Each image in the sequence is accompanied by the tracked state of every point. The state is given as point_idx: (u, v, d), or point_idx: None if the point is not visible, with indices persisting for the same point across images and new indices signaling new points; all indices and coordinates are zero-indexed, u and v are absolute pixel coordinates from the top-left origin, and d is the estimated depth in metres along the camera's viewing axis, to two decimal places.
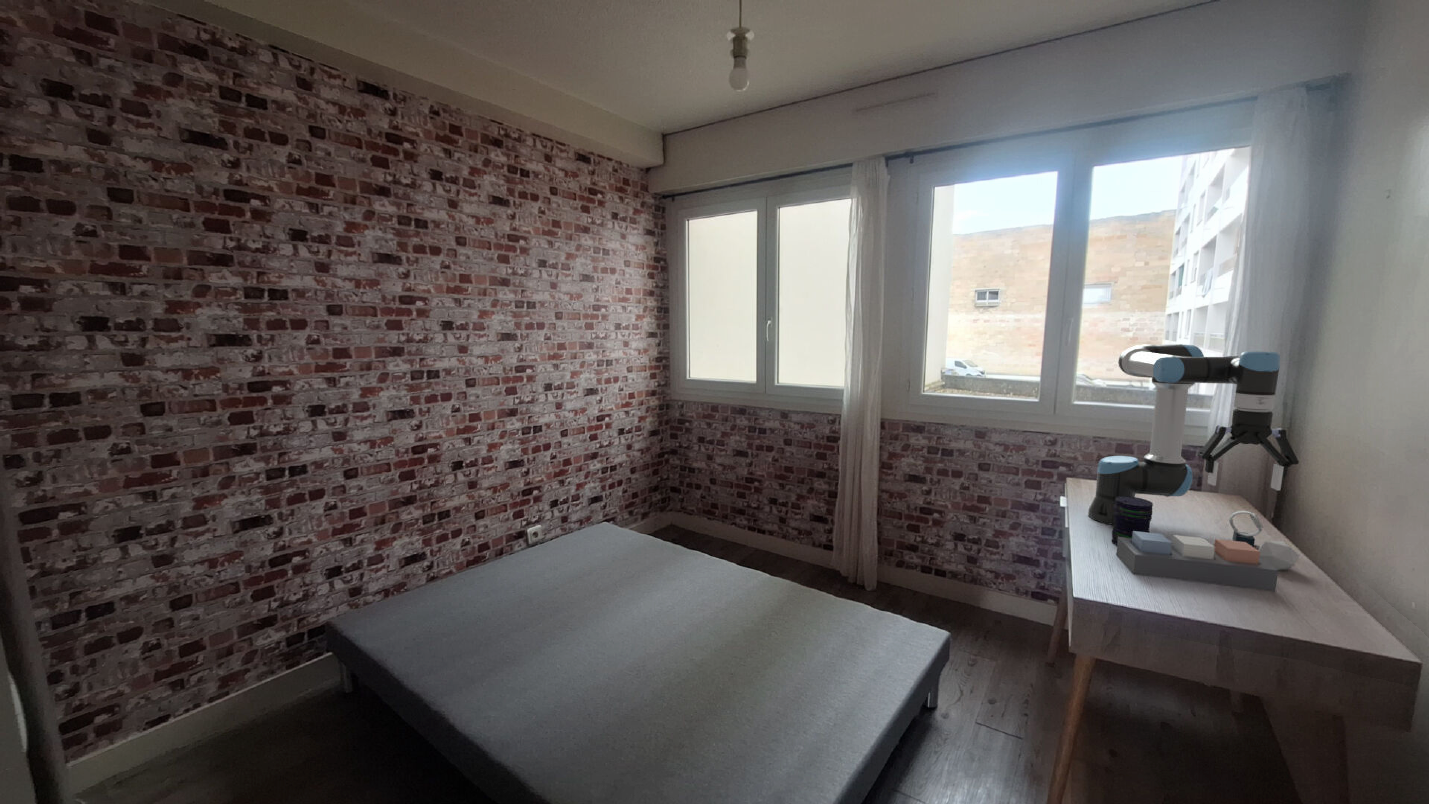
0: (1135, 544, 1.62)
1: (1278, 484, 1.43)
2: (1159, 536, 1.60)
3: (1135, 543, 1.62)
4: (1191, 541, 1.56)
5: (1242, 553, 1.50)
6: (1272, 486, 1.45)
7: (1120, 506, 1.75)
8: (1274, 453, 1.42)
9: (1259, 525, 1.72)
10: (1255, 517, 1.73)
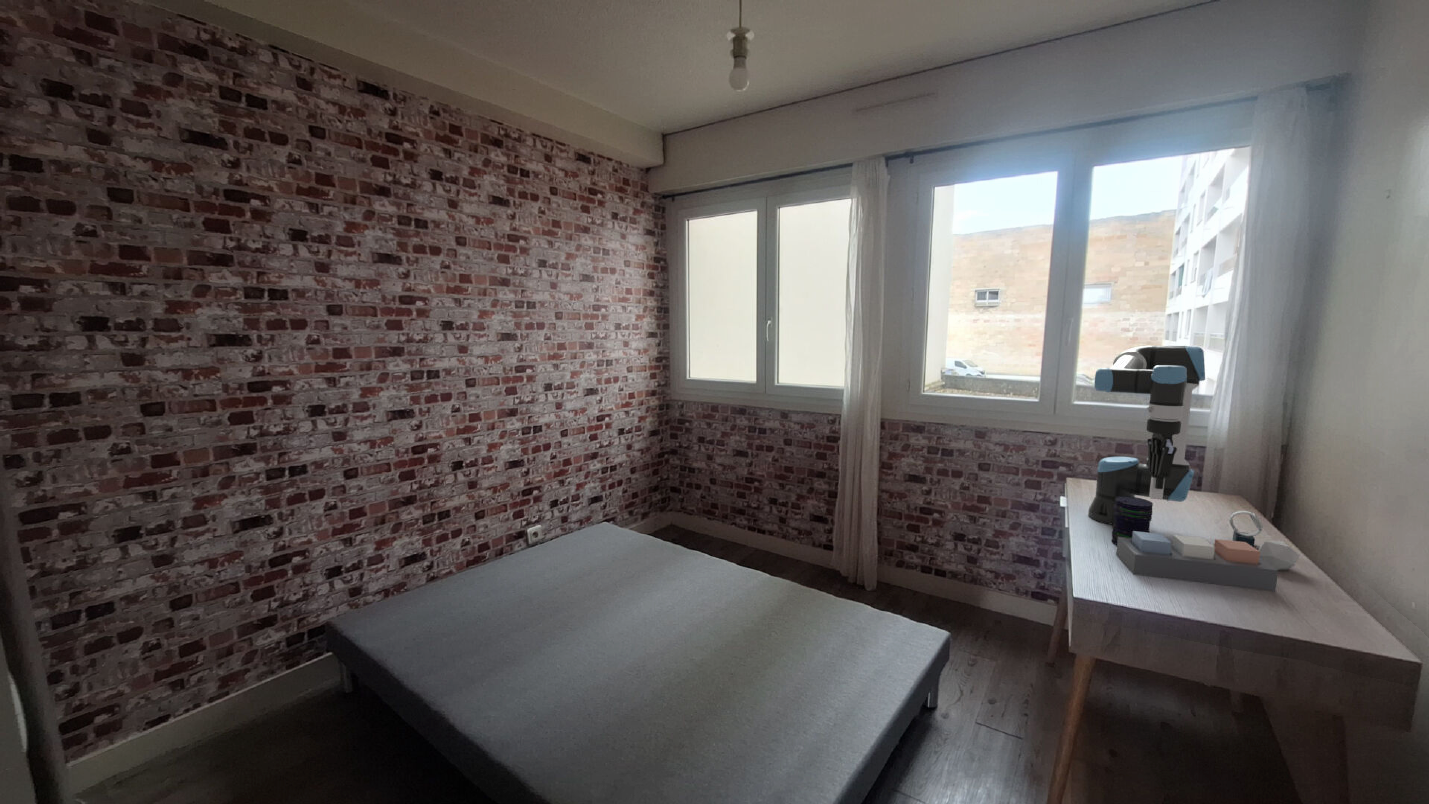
0: (1135, 544, 1.62)
1: (1150, 493, 1.58)
2: (1159, 536, 1.60)
3: (1135, 543, 1.62)
4: (1191, 541, 1.56)
5: (1242, 553, 1.50)
6: None
7: (1120, 506, 1.75)
8: (1156, 462, 1.56)
9: (1259, 525, 1.72)
10: (1255, 517, 1.73)
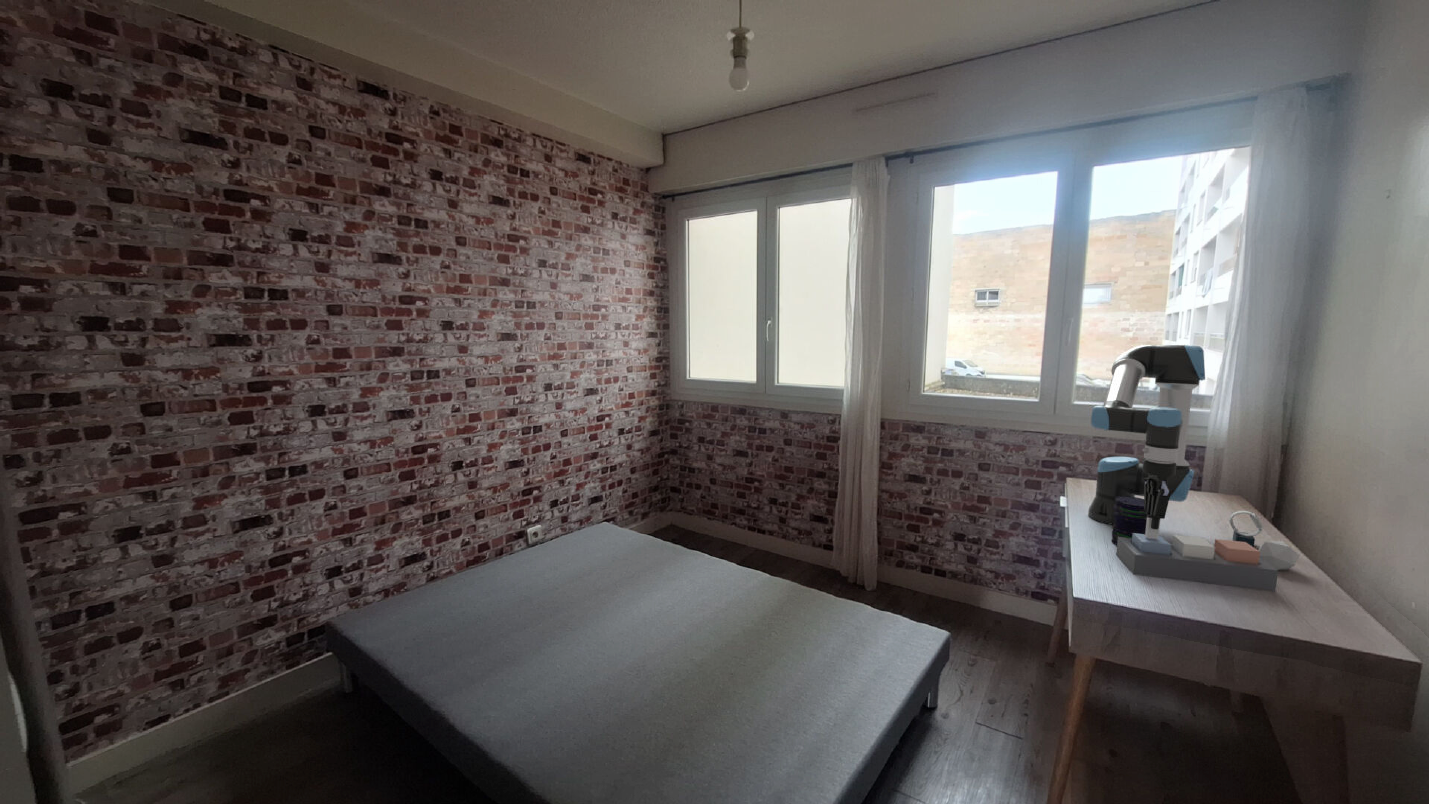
0: (1135, 546, 1.62)
1: (1146, 532, 1.60)
2: (1158, 538, 1.60)
3: (1135, 545, 1.62)
4: (1191, 541, 1.56)
5: (1242, 553, 1.50)
6: None
7: (1120, 506, 1.75)
8: (1151, 503, 1.58)
9: (1259, 525, 1.72)
10: (1255, 517, 1.73)
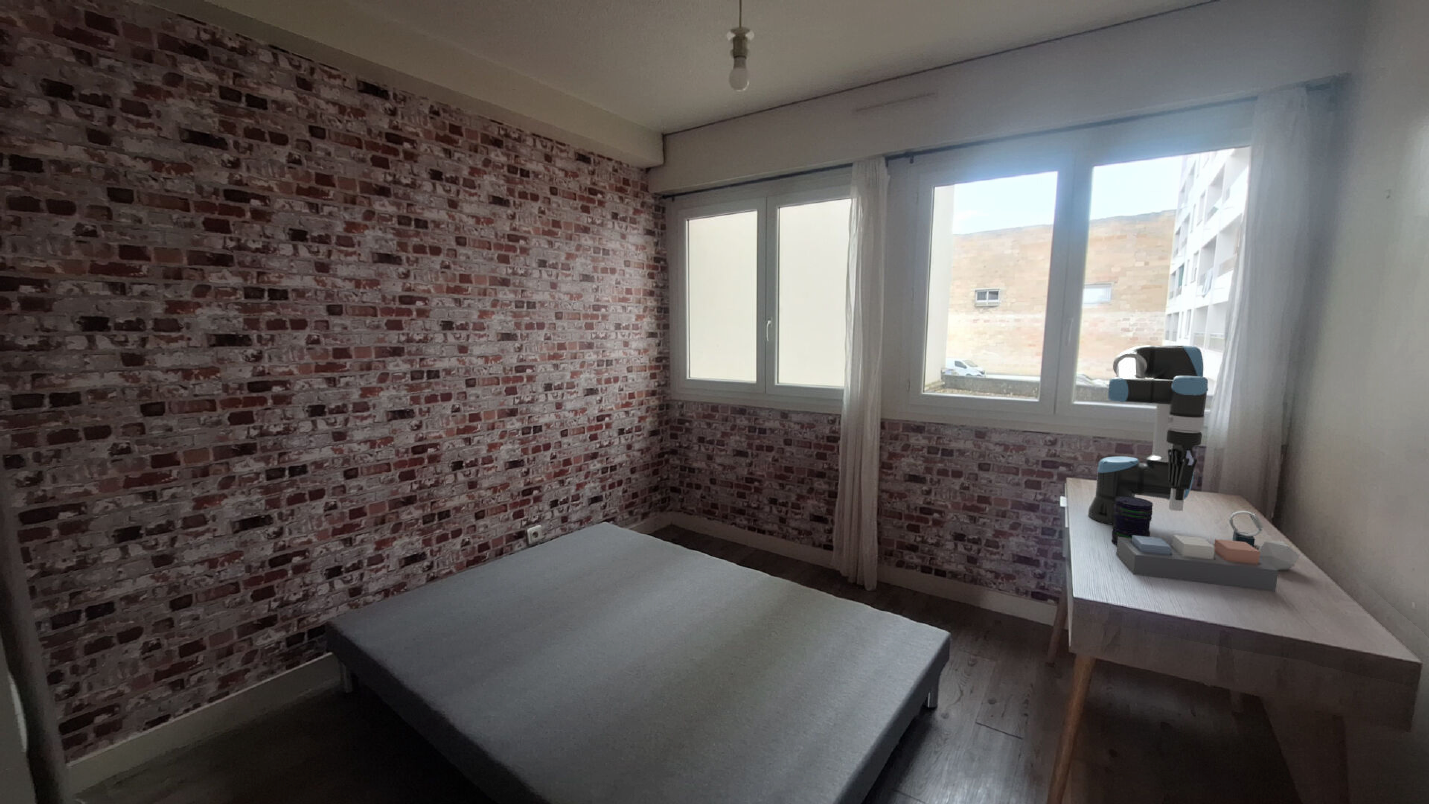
0: None
1: (1170, 504, 1.57)
2: (1158, 541, 1.60)
3: None
4: (1191, 541, 1.56)
5: (1242, 553, 1.50)
6: None
7: (1120, 506, 1.75)
8: (1176, 473, 1.55)
9: (1259, 525, 1.72)
10: (1255, 517, 1.73)
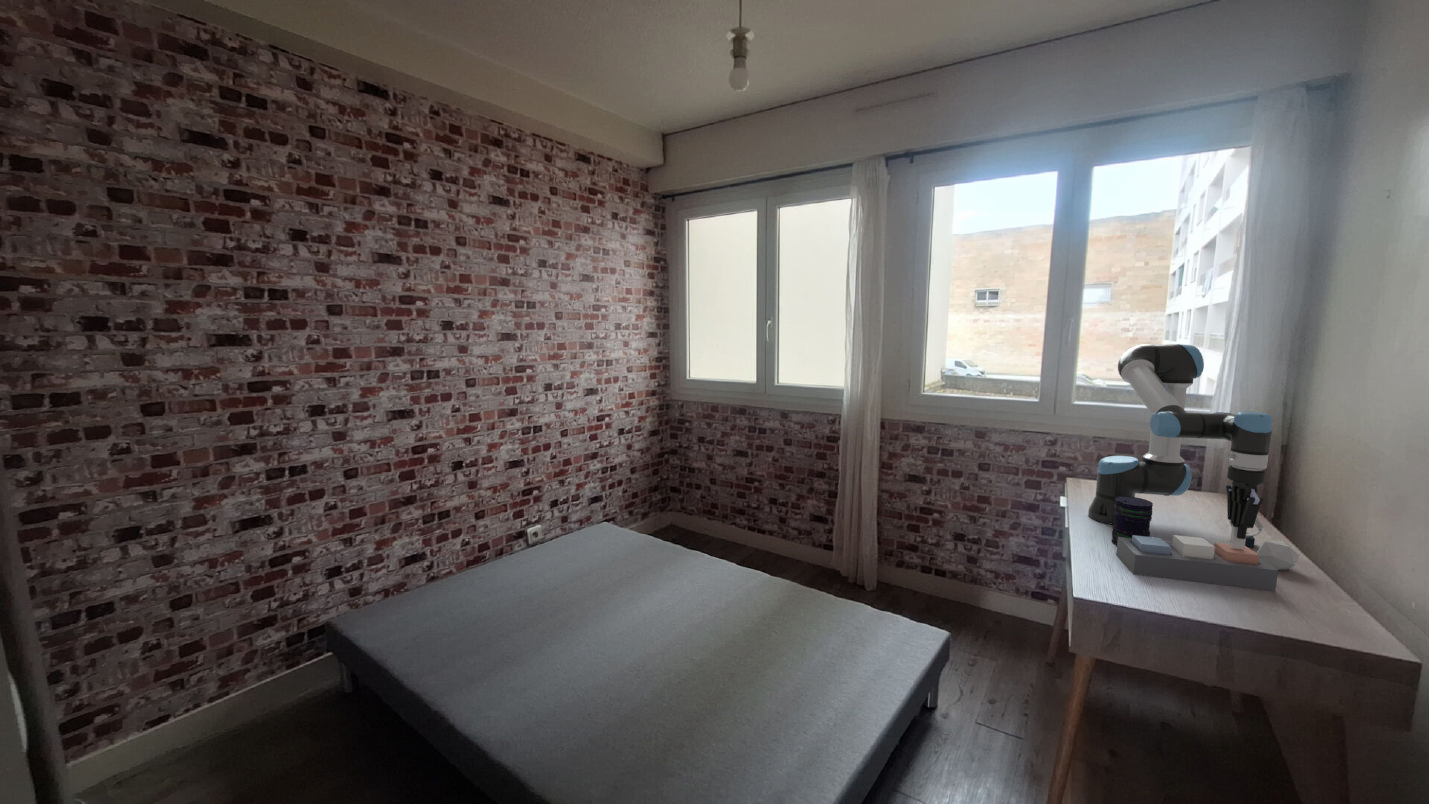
0: None
1: (1231, 542, 1.53)
2: (1158, 541, 1.60)
3: None
4: (1191, 541, 1.56)
5: (1242, 557, 1.50)
6: None
7: (1120, 506, 1.75)
8: (1238, 511, 1.51)
9: (1259, 525, 1.72)
10: None
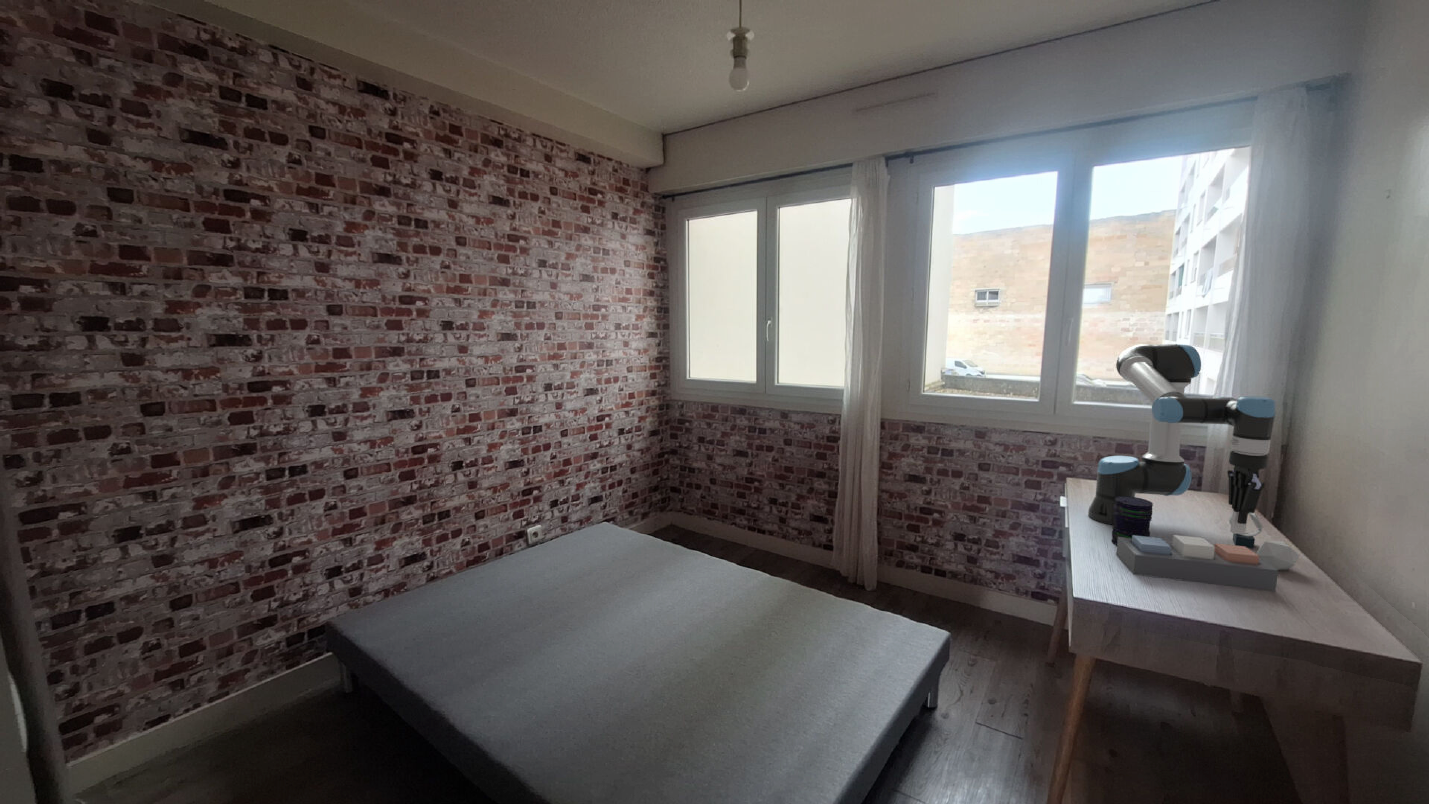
0: None
1: (1232, 527, 1.53)
2: (1158, 541, 1.60)
3: None
4: (1191, 541, 1.56)
5: (1241, 558, 1.50)
6: None
7: (1120, 506, 1.75)
8: (1239, 496, 1.51)
9: (1259, 525, 1.72)
10: (1255, 517, 1.73)
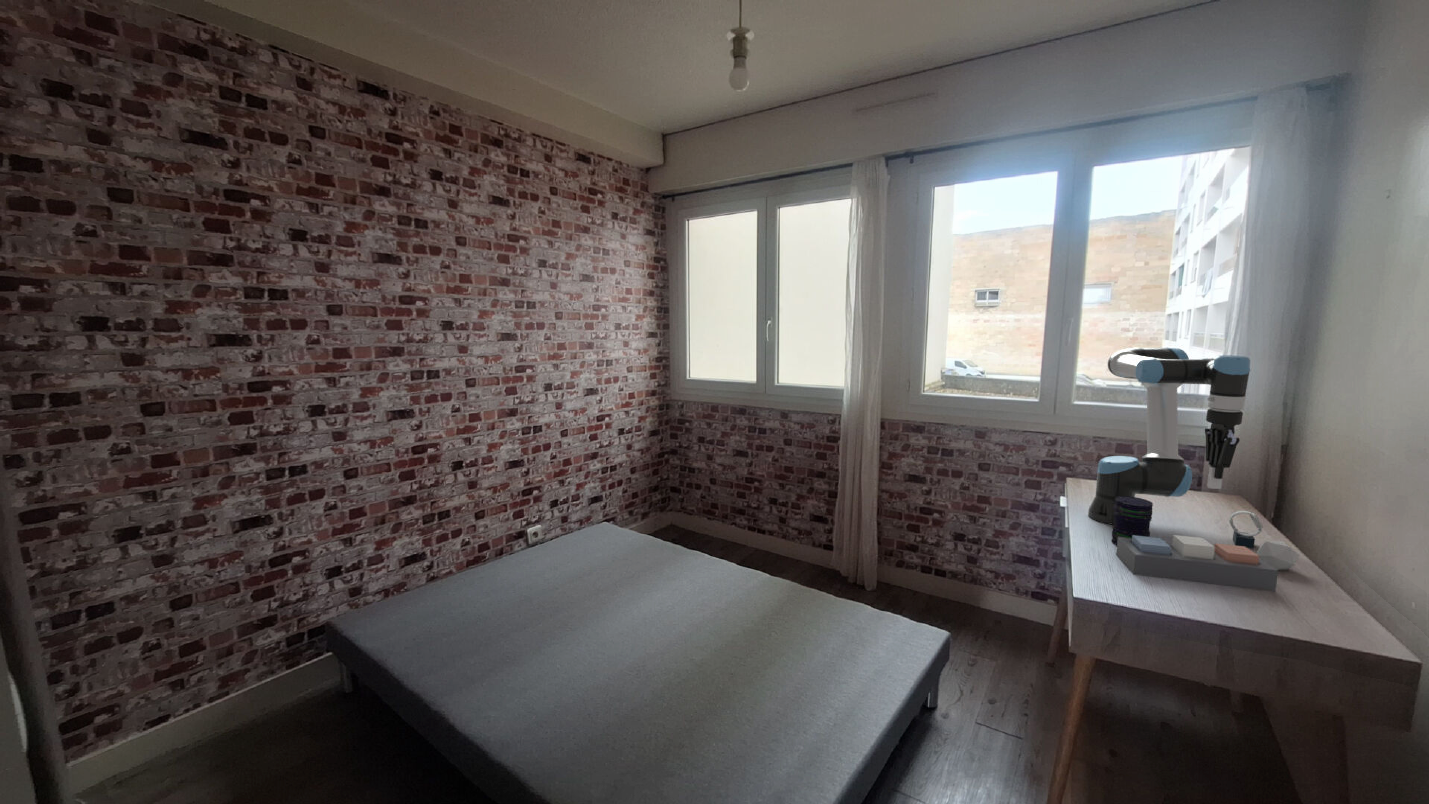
0: None
1: (1209, 482, 1.59)
2: (1158, 541, 1.60)
3: None
4: (1191, 541, 1.56)
5: (1241, 558, 1.50)
6: None
7: (1120, 506, 1.75)
8: (1215, 452, 1.57)
9: (1259, 525, 1.72)
10: (1255, 517, 1.73)
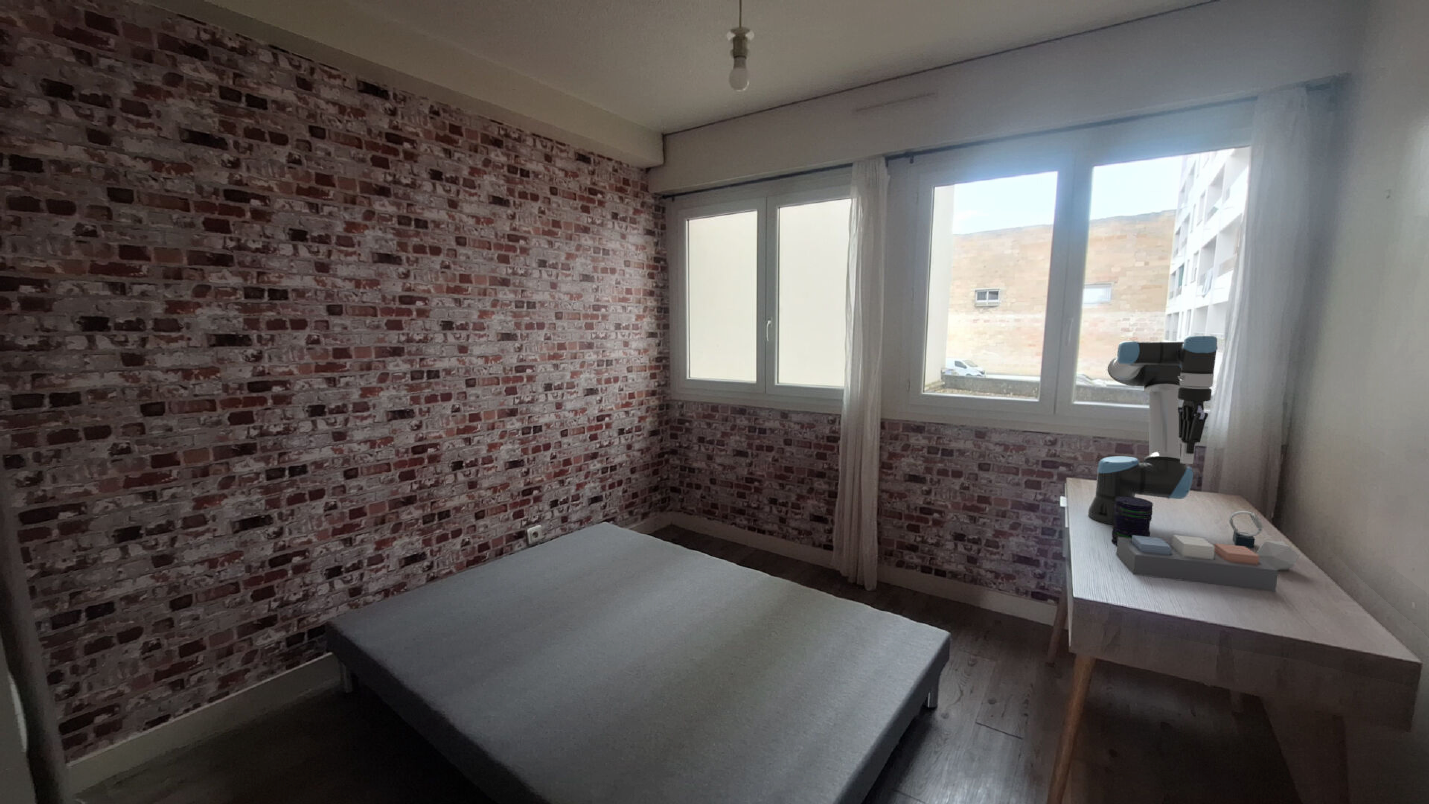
0: None
1: (1181, 458, 1.66)
2: (1158, 541, 1.60)
3: None
4: (1191, 541, 1.56)
5: (1241, 558, 1.50)
6: None
7: (1120, 506, 1.75)
8: (1187, 428, 1.64)
9: (1259, 525, 1.72)
10: (1255, 517, 1.73)
